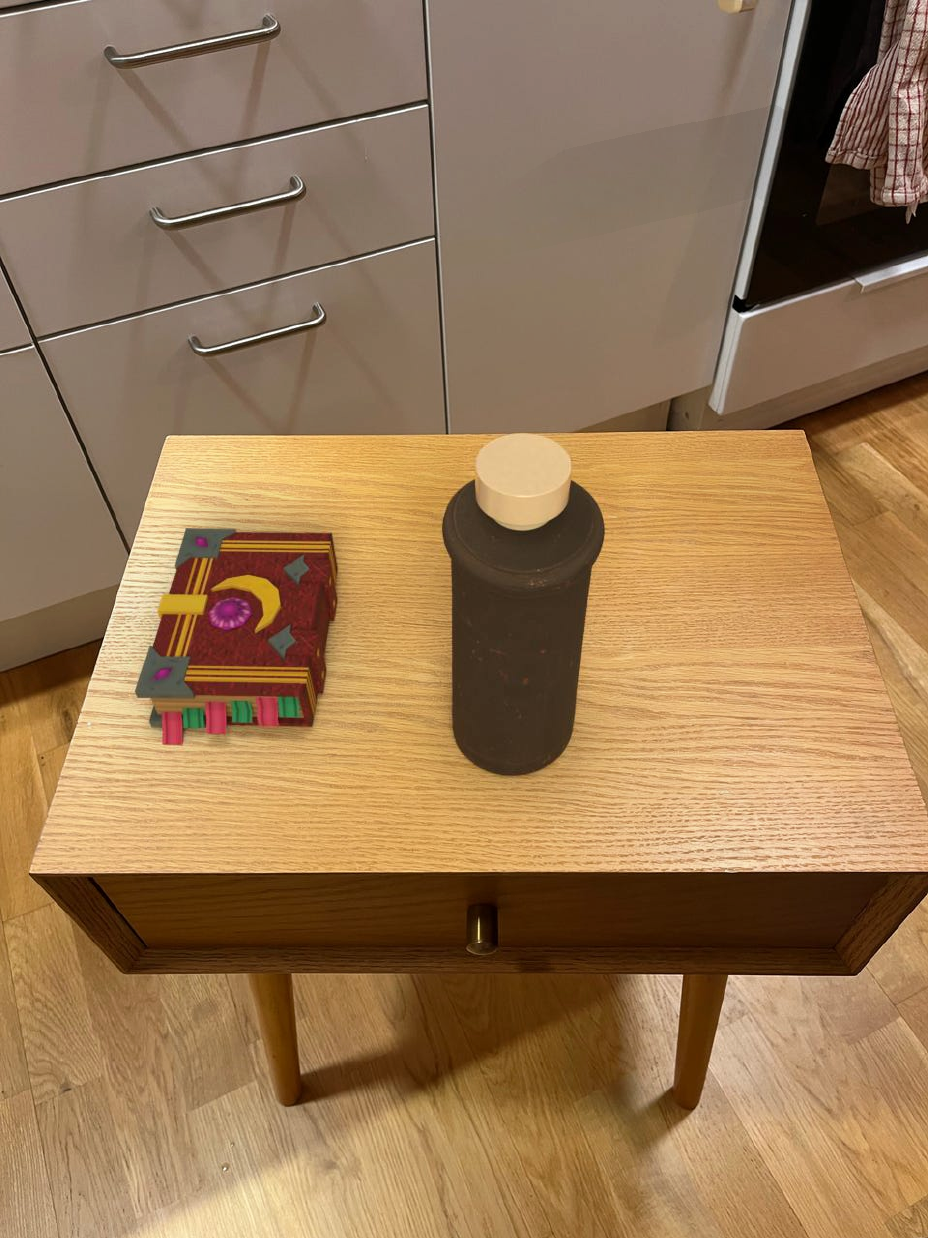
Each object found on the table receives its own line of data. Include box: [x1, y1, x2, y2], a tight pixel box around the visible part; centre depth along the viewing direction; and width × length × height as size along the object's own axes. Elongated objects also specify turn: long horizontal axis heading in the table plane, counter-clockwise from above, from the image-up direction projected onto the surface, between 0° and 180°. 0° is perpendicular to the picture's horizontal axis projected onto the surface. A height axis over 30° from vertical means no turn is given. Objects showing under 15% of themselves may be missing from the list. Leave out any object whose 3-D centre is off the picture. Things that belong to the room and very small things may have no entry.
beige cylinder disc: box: [474, 432, 573, 531], centre depth 49 cm, size 5×5×3 cm
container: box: [441, 478, 606, 777], centre depth 57 cm, size 9×9×20 cm
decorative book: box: [134, 527, 339, 746], centre depth 68 cm, size 11×16×5 cm
